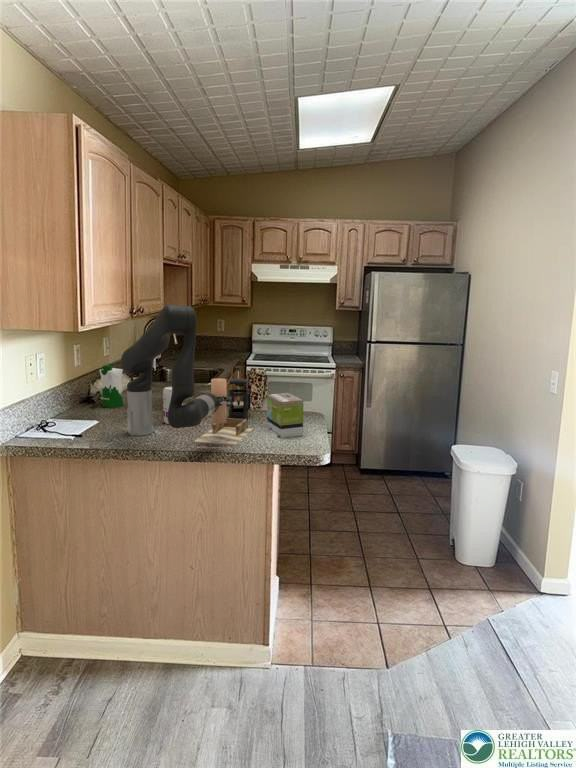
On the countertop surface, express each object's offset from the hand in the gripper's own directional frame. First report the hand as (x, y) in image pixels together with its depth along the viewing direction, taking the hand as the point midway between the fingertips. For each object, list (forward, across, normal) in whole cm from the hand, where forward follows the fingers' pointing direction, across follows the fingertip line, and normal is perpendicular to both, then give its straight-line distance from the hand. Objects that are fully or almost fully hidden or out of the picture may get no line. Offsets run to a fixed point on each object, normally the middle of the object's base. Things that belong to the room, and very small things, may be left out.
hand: (221, 396), depth 201 cm
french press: (+36, +5, +16) cm, 40 cm away
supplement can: (+20, +29, +17) cm, 39 cm away
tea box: (+17, -20, +17) cm, 31 cm away
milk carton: (+41, +70, +16) cm, 83 cm away
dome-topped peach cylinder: (-1, 0, +9) cm, 9 cm away
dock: (+4, 0, +17) cm, 17 cm away
